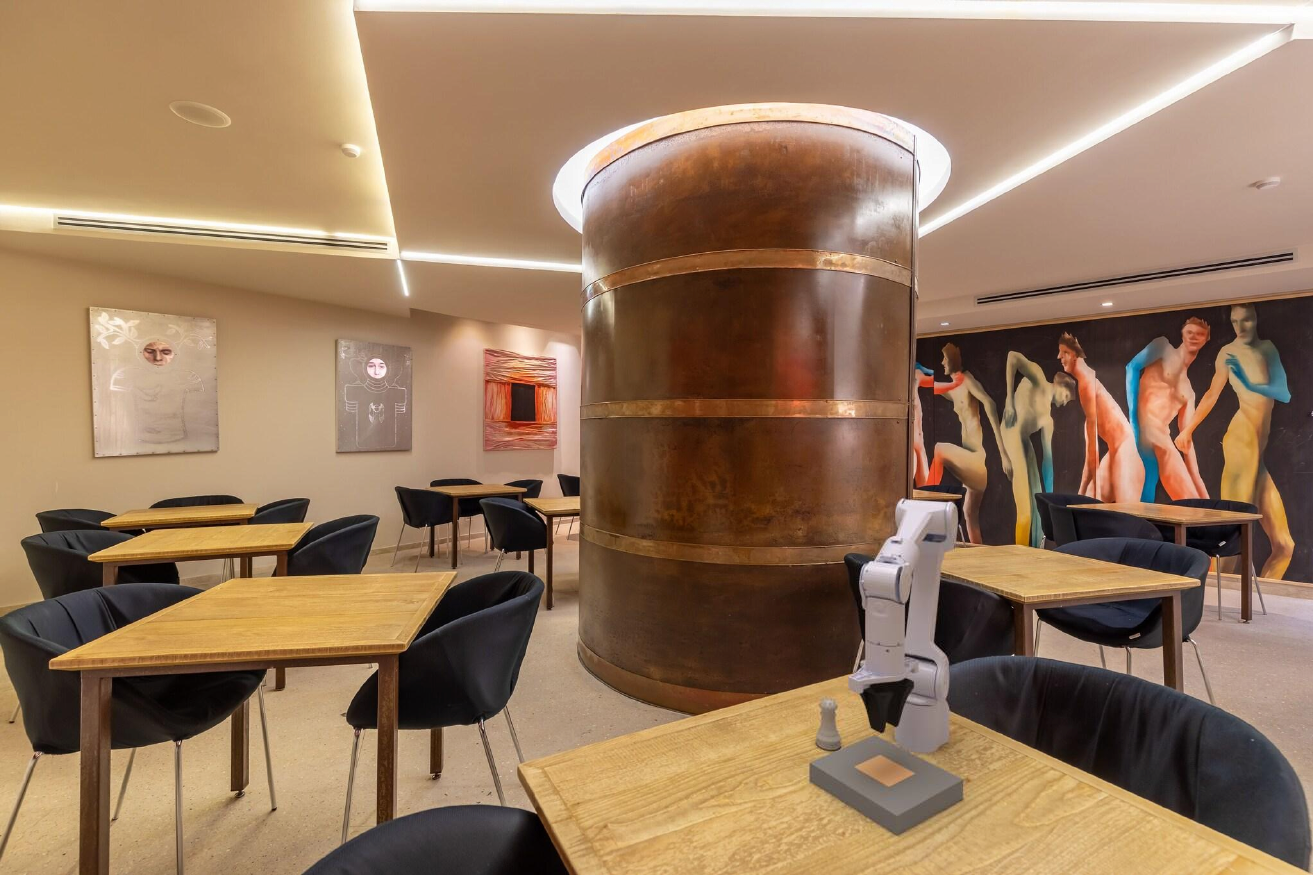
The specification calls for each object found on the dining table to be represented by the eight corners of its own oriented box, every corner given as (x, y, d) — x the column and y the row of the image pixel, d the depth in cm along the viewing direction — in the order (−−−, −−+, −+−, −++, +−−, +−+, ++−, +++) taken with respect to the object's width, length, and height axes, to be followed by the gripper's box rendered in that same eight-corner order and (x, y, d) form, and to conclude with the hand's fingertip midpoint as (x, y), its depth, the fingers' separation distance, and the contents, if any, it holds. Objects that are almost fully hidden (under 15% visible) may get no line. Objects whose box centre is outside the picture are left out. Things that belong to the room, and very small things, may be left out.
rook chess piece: (843, 752, 106) (842, 706, 106) (816, 750, 107) (816, 704, 107) (839, 739, 110) (839, 695, 110) (814, 737, 111) (814, 693, 111)
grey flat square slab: (874, 751, 106) (874, 734, 106) (963, 798, 93) (963, 778, 93) (809, 781, 97) (809, 761, 97) (896, 837, 84) (897, 815, 84)
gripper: (892, 624, 102) (891, 705, 102) (832, 641, 94) (832, 728, 94) (930, 636, 96) (930, 722, 96) (870, 655, 88) (870, 749, 88)
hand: (884, 727), depth 95 cm, fingers open, 3 cm apart
